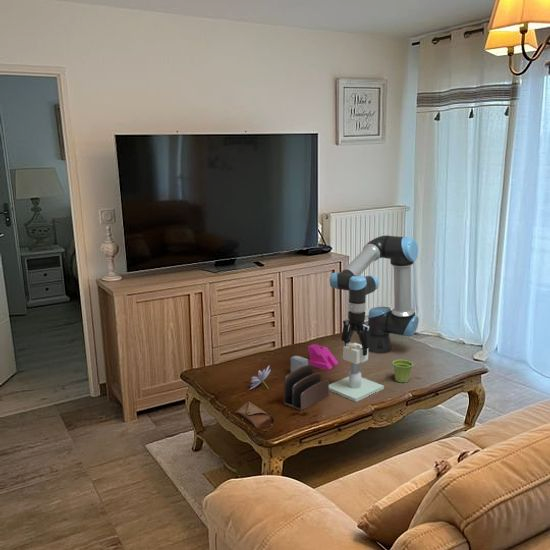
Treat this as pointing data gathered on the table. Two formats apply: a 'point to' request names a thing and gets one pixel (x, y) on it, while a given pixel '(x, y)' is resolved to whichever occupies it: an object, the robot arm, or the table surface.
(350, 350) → the slotted block
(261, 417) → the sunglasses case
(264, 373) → the water lily
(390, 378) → the table surface
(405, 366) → the plant pot
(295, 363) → the medicine box
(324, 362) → the bracket
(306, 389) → the letter holder
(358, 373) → the shaft stand
